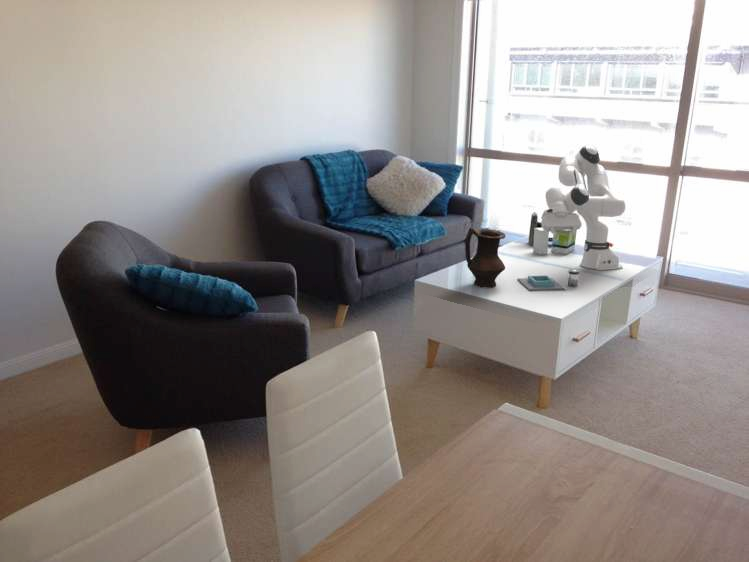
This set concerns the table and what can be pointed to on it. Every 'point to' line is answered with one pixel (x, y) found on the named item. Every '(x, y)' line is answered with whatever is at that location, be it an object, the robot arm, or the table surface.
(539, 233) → the skincare box
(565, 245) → the tea box
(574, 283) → the glass jar
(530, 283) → the stand
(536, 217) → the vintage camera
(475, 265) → the jug
